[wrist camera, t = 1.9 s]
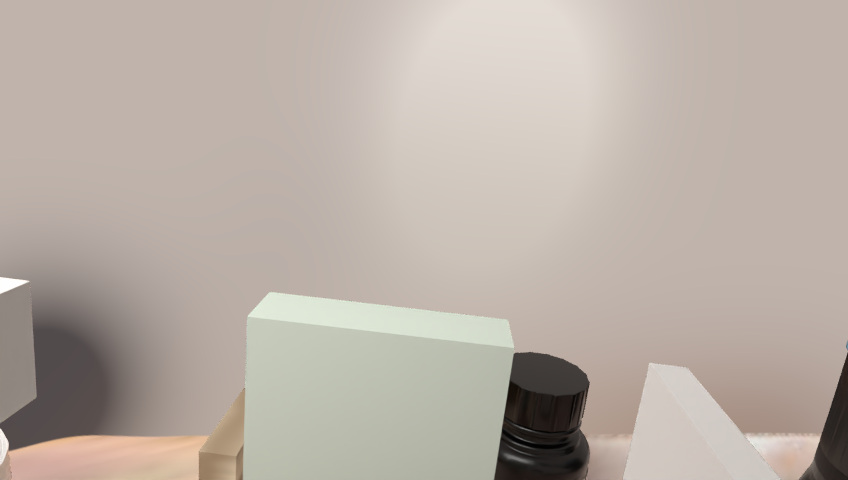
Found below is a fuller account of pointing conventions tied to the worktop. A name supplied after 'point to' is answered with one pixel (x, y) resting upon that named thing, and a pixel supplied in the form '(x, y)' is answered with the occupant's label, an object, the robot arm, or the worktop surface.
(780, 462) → the worktop surface
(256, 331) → the pale green panel
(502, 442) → the ink bottle
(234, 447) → the slotted rail
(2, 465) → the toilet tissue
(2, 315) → the robot arm
